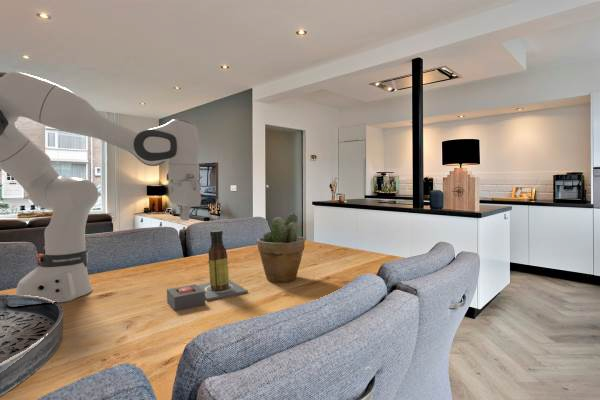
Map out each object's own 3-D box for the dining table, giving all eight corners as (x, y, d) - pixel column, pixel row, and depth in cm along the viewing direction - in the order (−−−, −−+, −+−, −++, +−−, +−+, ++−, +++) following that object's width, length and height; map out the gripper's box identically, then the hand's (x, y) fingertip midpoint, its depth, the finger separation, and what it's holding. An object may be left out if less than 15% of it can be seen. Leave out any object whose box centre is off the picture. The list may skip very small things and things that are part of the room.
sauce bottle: (231, 285, 119) (230, 229, 118) (225, 291, 113) (224, 231, 112) (213, 285, 119) (211, 229, 119) (206, 291, 113) (204, 231, 112)
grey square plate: (207, 301, 106) (207, 298, 106) (191, 288, 119) (191, 285, 119) (247, 292, 114) (247, 290, 114) (229, 281, 127) (228, 279, 127)
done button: (180, 302, 101) (180, 292, 101) (177, 299, 105) (176, 288, 105) (194, 300, 104) (194, 289, 104) (190, 296, 107) (190, 286, 107)
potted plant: (299, 287, 120) (299, 217, 119) (250, 284, 124) (249, 216, 123) (308, 273, 138) (308, 212, 137) (265, 271, 142) (264, 212, 141)
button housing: (174, 310, 98) (174, 297, 98) (167, 301, 106) (166, 289, 105) (205, 304, 103) (205, 291, 103) (195, 296, 111) (195, 284, 110)
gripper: (206, 174, 96) (206, 222, 97) (184, 175, 113) (185, 217, 113) (183, 173, 92) (184, 224, 93) (165, 175, 109) (165, 218, 110)
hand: (184, 220), depth 103 cm, fingers closed
